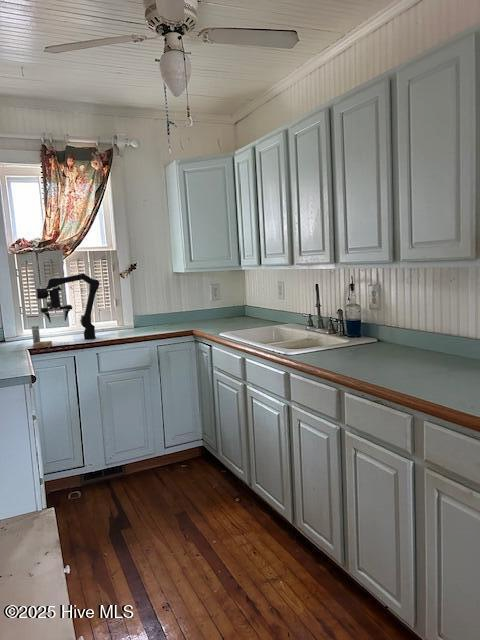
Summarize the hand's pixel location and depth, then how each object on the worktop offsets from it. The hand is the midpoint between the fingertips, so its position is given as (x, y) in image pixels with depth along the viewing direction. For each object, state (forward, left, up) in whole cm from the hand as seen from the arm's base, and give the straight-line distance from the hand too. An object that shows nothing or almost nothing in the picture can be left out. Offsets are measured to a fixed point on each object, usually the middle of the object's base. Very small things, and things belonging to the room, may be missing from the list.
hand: (57, 322), depth 308 cm
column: (+13, +7, -13) cm, 19 cm away
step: (+8, +15, -13) cm, 21 cm away
